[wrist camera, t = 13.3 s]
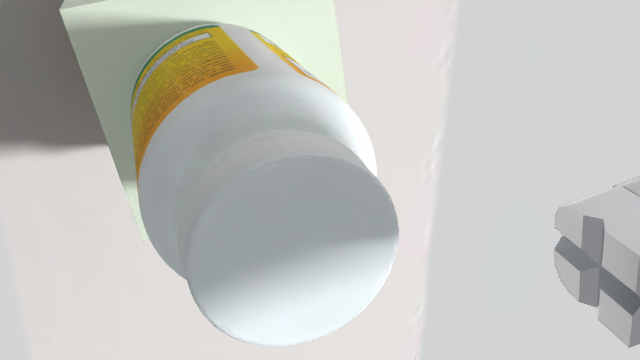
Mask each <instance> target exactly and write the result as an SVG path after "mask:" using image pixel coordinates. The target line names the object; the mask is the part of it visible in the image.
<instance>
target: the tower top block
mask: <svg viewBox="0 0 640 360" xmlns="http://www.w3.org/2000/svg"><path fill="white" fill-rule="evenodd" d="M59 11H60V14H61V16H62V19H63V22H64V25H65V28H66V30H67V33H68V36H69V39H70V41H71V44H72V47H73V50H74V52H75V55H76V58H77V61H78V63H79V66H80V69H81V72H82V75H83V77H84V80H85V83H86V86H87V88H88V91H89V94H90V97H91V99H92V102H93V105H94V108H95V110H96V113H97V116H98V119H99V121H100V124H101V127H102V130H103V133H104V135H105V138H106V141H107V144H108V146H109V149H110V152H111V155H112V157H113V160H114V163H115V166H116V168H117V171H118V174H119V177H120V179H121V182H122V185H123V188H124V191H125V193H126V196H127V199H128V202H129V204H130V207H131V210H132V213H133V215H134V218H135V221H136V224H137V226H138V229H139V232H140V235H141V237H142V240H143V241H147V240H150V239H149V237H148V235H147V232H146V230H145V227H144V224H143V220H142V217H141V213H140V207H139V200H138V189H137V179H136V167H135V157H134V147H133V137H132V125H131V110H130V109H131V96H132V90H133V86H134V83H135V80H136V77H137V75H138V73H139V71H140V69H141V67H142V66H143V64H144V63H145V61H146V60H147V58H148V57H149V56H150V55H151V54H152V52H154V51H155V50H156V49H157V48H158V47H159V46H160V45H161V44H162V43H164V42H165V41H166V40H168V39H170V38H171V37H173V36H174V35H176V34H178V33H180V32H182V31H184V30H186V29H189V28H191V27H194V26H198V25H203V24H212V23H225V24H234V25H238V26H242V27H246V28H249V29H251V30H253V31H256V32H257V33H259V34H261V35H263V36H264V37H266V38H268V39H269V40H271V41H272V42H273V43H275V44H276V45H277V46H279V47H280V48H281V49H282V50H284V51H285V52H286V53H287V54H289V55H290V56H291V57H292V58H293V59H294V60H296V61H297V62H298V63H299V64H301V65H302V66H303V67H304V68H305V69H307V70H308V71H309V72H311V73H312V74H313V75H314V76H315V77H317V78H318V79H319V80H320V81H322V82H323V83H324V84H325V85H327V86H328V87H329V88H330V89H331V90H333V91H334V92H335V93H336V94H337V95H338V96H339V97H341V98H342V99H343V100H344V101H345V102H346V103H347V95H346V87H345V80H344V72H343V65H342V57H341V50H340V42H339V35H338V27H337V19H336V12H335V4H334V0H64V2H63V4H62V6H61V7H60V9H59ZM347 104H348V103H347Z"/></svg>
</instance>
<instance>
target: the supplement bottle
mask: <svg viewBox="0 0 640 360" xmlns="http://www.w3.org/2000/svg"><path fill="white" fill-rule="evenodd" d="M130 110H131V125H132V137H133V147H134V157H135V167H136V179H137V189H138V200H139V207H140V213H141V217H142V220H143V224H144V227H145V230H146V232H147V235H148V237H149V239H150V241H151V242H152V244H153V246H154V247H155V249H156V251H157V252H158V254H159V255H160V256H161V258H162V259H163V260H164V261H165V262H166V263H167V264H168V265H169V266H170V267H171V268H172V269H173V270H174V271H175V272H176V273H178V274H179V275H180V276H181V277H183V278H184V279H186V280H187V282H188V285H189V288H190V291H191V294H192V296H193V298H194V300H195V302H196V304H197V306H198V307H199V309H200V310H201V312H202V313H203V315H204V316H205V317H206V318H207V319H208V320H209V321H210V322H211V323H212V324H213V325H214V326H215V327H216V328H218V329H219V330H221V331H222V332H224V333H226V334H227V335H229V336H231V337H233V338H235V339H237V340H240V341H243V342H247V343H250V344H255V345H260V346H274V347H277V346H290V345H297V344H301V343H305V342H309V341H313V340H315V339H318V338H321V337H323V336H325V335H327V334H329V333H331V332H333V331H335V330H336V329H338V328H340V327H341V326H343V325H345V324H346V323H348V322H349V321H351V320H352V319H353V318H354V317H356V316H357V315H358V314H360V313H361V312H362V311H363V310H364V309H365V308H366V306H367V305H368V304H369V303H370V302H371V301H372V300H373V299H374V298H375V297H376V295H377V293H378V292H379V290H380V289H381V288H382V286H383V284H384V282H385V280H386V279H387V277H388V275H389V273H390V270H391V268H392V265H393V262H394V259H395V256H396V252H397V246H398V231H399V228H398V221H397V216H396V212H395V209H394V205H393V202H392V200H391V198H390V196H389V194H388V192H387V191H386V189H385V188H384V186H383V185H382V184H381V182H380V181H379V180H378V178H377V168H376V160H375V155H374V150H373V147H372V143H371V141H370V138H369V136H368V134H367V131H366V129H365V127H364V126H363V124H362V122H361V121H360V119H359V118H358V116H357V115H356V114H355V112H354V111H353V110H352V108H351V107H350V106H349V105H348V104H347V103H346V102H345V101H344V100H343V99H342V98H341V97H339V96H338V95H337V94H336V93H335V92H334V91H333V90H331V89H330V88H329V87H328V86H327V85H325V84H324V83H323V82H322V81H320V80H319V79H318V78H317V77H315V76H314V75H313V74H312V73H311V72H309V71H308V70H307V69H305V68H304V67H303V66H302V65H301V64H299V63H298V62H297V61H296V60H294V59H293V58H292V57H291V56H290V55H289V54H287V53H286V52H285V51H284V50H282V49H281V48H280V47H279V46H277V45H276V44H275V43H273V42H272V41H271V40H269V39H268V38H266V37H264V36H263V35H261V34H259V33H257V32H256V31H253V30H251V29H249V28H246V27H242V26H238V25H234V24H225V23H212V24H203V25H198V26H194V27H191V28H189V29H186V30H184V31H182V32H180V33H178V34H176V35H174V36H173V37H171V38H170V39H168V40H166V41H165V42H164V43H162V44H161V45H160V46H159V47H158V48H157V49H156V50H155V51H154V52H152V54H151V55H150V56H149V57H148V58H147V60H146V61H145V63H144V64H143V66H142V67H141V69H140V71H139V73H138V75H137V77H136V80H135V83H134V86H133V90H132V96H131V109H130Z"/></svg>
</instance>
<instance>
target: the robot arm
mask: <svg viewBox="0 0 640 360" xmlns="http://www.w3.org/2000/svg"><path fill="white" fill-rule="evenodd" d="M555 228H556V229H557V230H558V231H559V232H560V233H561V234H562V235H563V236H562V237H561V239H560V241H559V243H558V244H557V246H556V247H555V250H554V256H555V267H556V269H557V272H558V275H559V278H560V280H561V282H562V283H563V285H564V286H565V288H566V289H567V290H568V292H569V293H570V294H571V295H572V296H573V297H574V298H576V299H577V300H578V301H579V302H581V303H585V304H588V305H591V306H594V307H597V313H598V320H599V321H600V322H602V324H604V325H605V326H606V327H607V328H608V329H609V330H610V331H611V332H613V334H614V335H616V336H617V337H618V338H619V339H620V340H621V341H622V342H623V343H624V344H625V345H627V346H628V347H633V346H635V345H638V344H640V176H638V177H636V178H633V179H630V180H627V181H625V182H622V183H620V184H617V185H615V186H613V187H612V188H608V189H605V190H603V191H600V192H597V193H594V194H592V195H589V196H587V197H584V198H581V199H578V200H576V201H573V202H570V203H568V204H565V205H562V206H560V207H559V208H558V210H557V212H556V215H555Z"/></svg>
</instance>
